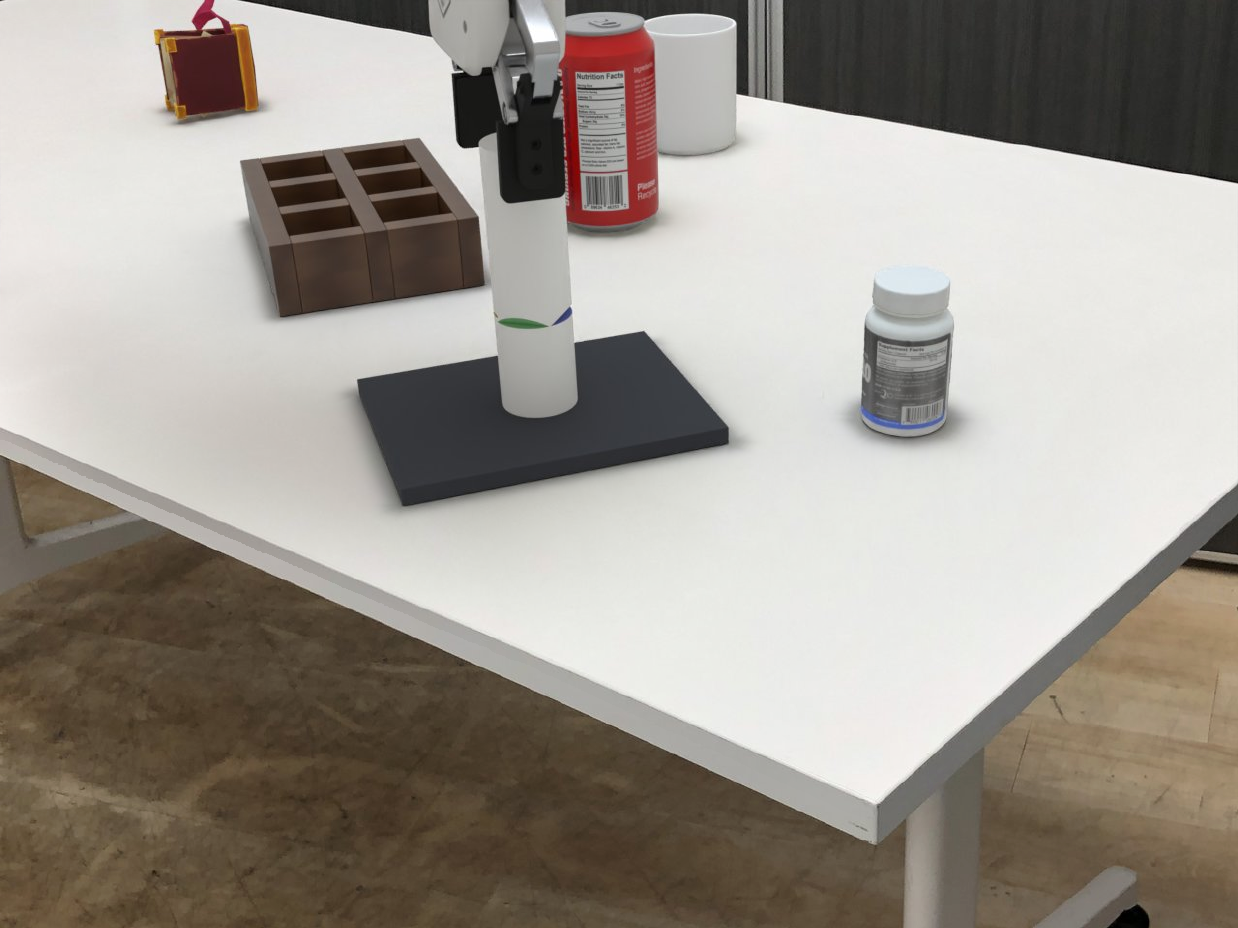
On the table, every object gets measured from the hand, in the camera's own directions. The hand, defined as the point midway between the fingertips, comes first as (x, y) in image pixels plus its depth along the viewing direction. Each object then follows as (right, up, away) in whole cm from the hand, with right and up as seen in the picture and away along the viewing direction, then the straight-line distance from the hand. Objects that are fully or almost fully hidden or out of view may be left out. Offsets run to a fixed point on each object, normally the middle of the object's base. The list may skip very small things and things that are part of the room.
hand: (508, 170), depth 75 cm
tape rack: (-13, 0, +32) cm, 34 cm away
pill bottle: (+22, -13, +5) cm, 26 cm away
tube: (+1, -12, +7) cm, 14 cm away
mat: (+1, -13, +7) cm, 15 cm away
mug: (+10, +12, +52) cm, 55 cm away
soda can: (+5, +3, +36) cm, 36 cm away
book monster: (-35, +21, +70) cm, 81 cm away
